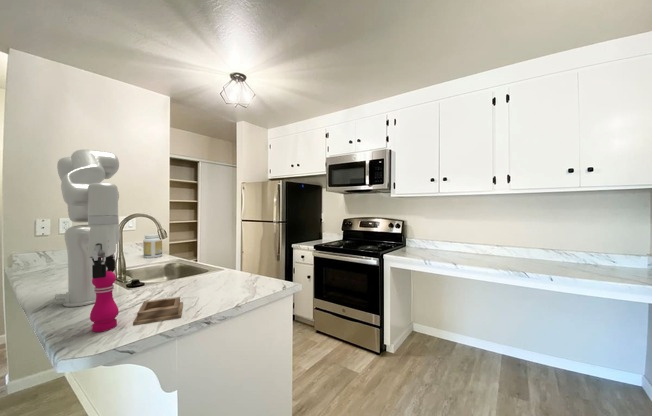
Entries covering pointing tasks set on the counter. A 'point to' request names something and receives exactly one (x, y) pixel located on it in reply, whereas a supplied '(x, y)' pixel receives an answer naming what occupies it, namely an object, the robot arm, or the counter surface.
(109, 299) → the pepper mill
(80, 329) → the counter surface
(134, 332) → the counter surface
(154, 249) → the supplement tub
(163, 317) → the wooden tray
